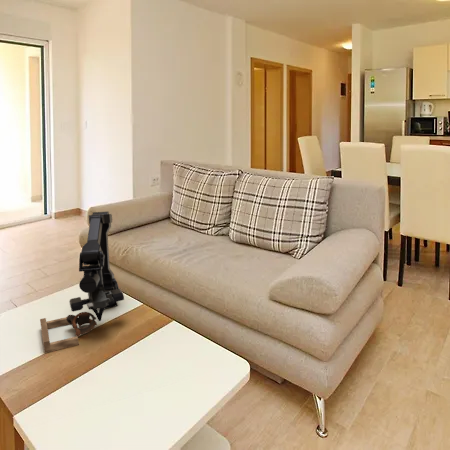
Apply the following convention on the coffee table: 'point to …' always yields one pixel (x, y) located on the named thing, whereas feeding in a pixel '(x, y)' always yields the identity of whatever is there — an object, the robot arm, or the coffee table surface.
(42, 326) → the walnut guide channel
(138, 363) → the coffee table surface
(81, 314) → the pottery mug
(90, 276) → the robot arm
